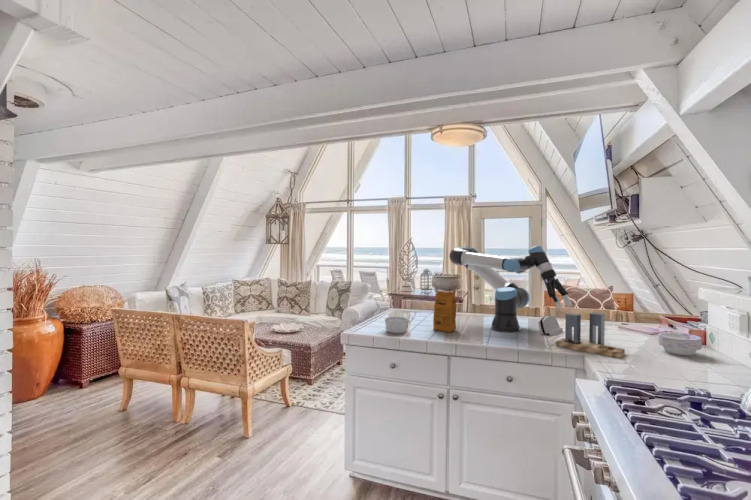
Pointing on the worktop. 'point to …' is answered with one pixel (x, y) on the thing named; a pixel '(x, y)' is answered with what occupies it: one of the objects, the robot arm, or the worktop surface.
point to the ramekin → (396, 324)
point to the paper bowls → (680, 343)
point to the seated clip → (575, 322)
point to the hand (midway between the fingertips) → (565, 307)
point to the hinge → (549, 325)
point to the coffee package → (445, 312)
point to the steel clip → (599, 321)
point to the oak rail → (592, 348)
